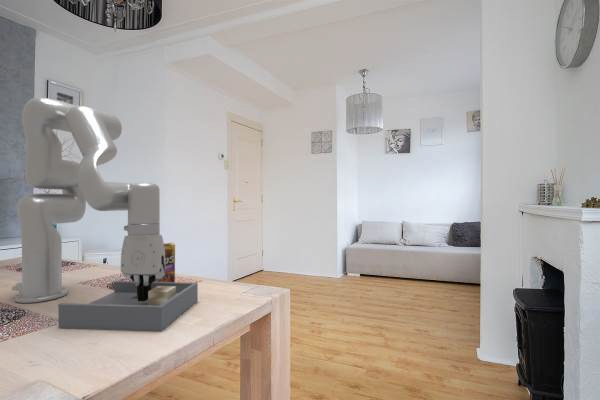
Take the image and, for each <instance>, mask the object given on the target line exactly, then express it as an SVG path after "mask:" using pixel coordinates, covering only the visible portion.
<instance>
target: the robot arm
mask: <svg viewBox="0 0 600 400" xmlns="http://www.w3.org/2000/svg"><path fill="white" fill-rule="evenodd" d="M23 107H24V108H23V109H22V113H21V114H22V115H21V122H22V127H23V132H24V135H25V141H26V142H25V145H26V146H25V171H24V173H25V175H24V177H25V181H26V184H27V185H28V186H29V187H31V188H33V189H39V190H40V189H41V190H62V192H61V193H48V192H47V193H45V192H44V193H41V192H40V193H30V194H28V195H25V196H23V197H21V198H20V199H19V200H18V202H17V204H16V213H17V218H18V222H19V225H20V234H21V235H20V236H21V281H20V282H17V283H15V285H13V286H12V288H11V290H12V291H18V294H16V295H15V297H14V301H15V302H16V303H20V304H31V303H33V304H34V303H40V302H47V301H50V300H51V301H52V300H55V299H56V300H57V299H59V298H61V297H64V296H66V295H68V293H69V291H68V290H69V289H68V288H66V287H63V284H62V283H63V280H62V279H63V276H62V273H63V271H62V268H63V265H62V261H63V259H62V257H63V256H62V255H63V253H62V252H63V251H62V250H63V249H62V248H63V247H62V236H61V234H60V231H58V229H57V228H56V227H55V226H54V225H57V224H67V223H69V224H70V223H71V224H72V223H76V222H78V221H81V220H82V219H83V217H84V215H85V213H86V208H87V207H86V206H87V204H88V206H90V207H91V209H93V210H95V211H98V212H114V211H120V212H121V211H127V225H124V226H123V230H124V231H125V232H126V231H127V235H124V239H123V242H122V248H121V254H120V273H122V274H123V277H124V278H127V279H131V280H132V281H134V283H135V285H136V286H137V297H138V301H146V300H148V291H150V290H151V284H152V283H153V282H154V281H155V280H156V279H159V278H162V277H164V276H165V273H164V269H165V249H164V238H163V235H162V234H161V233H160V231H161V230H160V228H161V225H160V224H161V223H160V222H161V221H160V220H161V219H160V215H161V213H160V206H161V205H160V203H161V202H160V201H161V200H160V194H161V193H160V192H161V191H160V187H159V185H158V184H156V183H152V182H151V183H149V182H148V183H147V182H134V183H131V182H114V181H105V179H104V178H103V177H102V175H101V173H100V171H99V168H98V166H101V165H104V164H106V163H108V162H110V161H112V160H113V159H114V158H115V157H116V155H117V154H118V149H117V146H116V144H115V143H114V140H117V139H118V138H120V136H121V135H122V133H123V132H122V131H123V127H122V126H123V125H122V122H121V120H120V118H118V117H117V116H116V115H115V114H114V113H113V112H109V111H105V110H101V109H98V108H95V107H91V106H86V105H76V104H73V103H69V102H66V101H61V100H58V99H54V98H53V99H52V98H48V97H43V96H42V97H41V96H40V97H34V98H31V99H29V100H28V101H27V102H26V104H25V105H24V106H23ZM54 130H57V131H63V132H68V133H71V134H72V137H73V139H74V141H75V144H76V145H77V147H78V149H79V151H80V154H81V156H82V160H80V162H78V161H74V160H66V159H65V160H64V159H63V158H62V157H63V156H62V154H63V153H62V152H63V146H62V142H61V140H60V138H59V136H58V135H57V134H56V132H55V131H54Z"/></svg>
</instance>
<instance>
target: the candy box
mask: <svg viewBox="0 0 600 400" xmlns="http://www.w3.org/2000/svg"><path fill="white" fill-rule="evenodd" d="M164 249H165V269H164V273H165V276H164V277H162V278H159V279H156V280H155V281H154V282H176V243H175V242H166V243H164Z"/></svg>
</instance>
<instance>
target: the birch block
mask: <svg viewBox="0 0 600 400" xmlns="http://www.w3.org/2000/svg"><path fill="white" fill-rule="evenodd" d="M175 295H176V286H157V287H155V288H153V289H152V290H150V291H148V305H152V306H160V305H161V304H163V303H164V302H166V301H167V300H169V299H170V298H172V297H173V296H175Z"/></svg>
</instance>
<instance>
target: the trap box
mask: <svg viewBox="0 0 600 400" xmlns="http://www.w3.org/2000/svg"><path fill="white" fill-rule="evenodd" d="M198 285H199V284H198V282H181V281H179V282H176V281H175V282H153V283H152V284H151V290H152V289H153V288H155V287H157V286H176V295H175V296H173V297H172V298H170V299H169V300H167V301H166V302H164V303H163V304H161V305H160V306H152V305H148V300H146V301H138V297H137V286H136V285H135V283H134V281H133V280H132V281H131V280H129V281H128V280H125V281H124V280H115V281H113V292H110V293H109V294H106V295H105V296H103V297H100V298H97V299H95V300H94V301H93V300H92V301H91V302H88V303H76V302H75V303H74V302H73V303H70V302H61V303H59V304H58V307H57V308H58V312H57V313H58V317H57V318H58V319H57V320H58V328H59V329H77V330H78V329H81V330H84V329H85V330H113V331H115V330H116V331H145V332H146V331H147V332H150V331H151V332H162V331H164V330H166V328H167V327H169V326H170V325H171V324H172V323H174V322H175V321H177V319H178V318H180V317H181V316H182V315H183V314H184V313H185V312H187V311H188V310H189V309H190V308H191V307H192V306H194V305H195V304H196V303H198V296H199V295H198V290H199V289H198Z"/></svg>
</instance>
